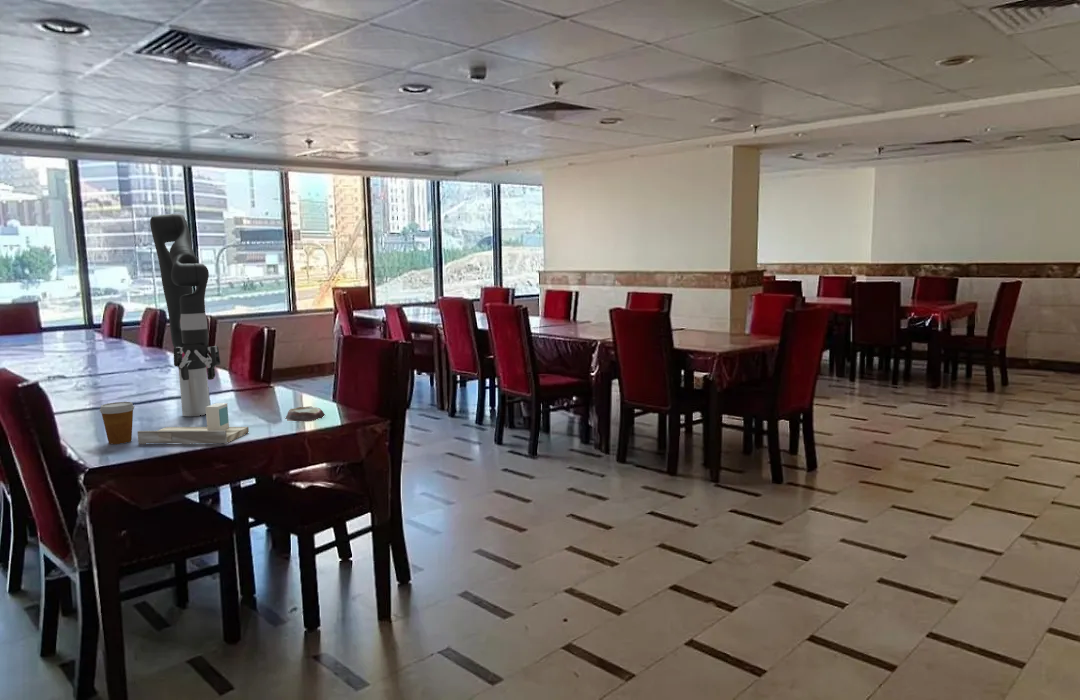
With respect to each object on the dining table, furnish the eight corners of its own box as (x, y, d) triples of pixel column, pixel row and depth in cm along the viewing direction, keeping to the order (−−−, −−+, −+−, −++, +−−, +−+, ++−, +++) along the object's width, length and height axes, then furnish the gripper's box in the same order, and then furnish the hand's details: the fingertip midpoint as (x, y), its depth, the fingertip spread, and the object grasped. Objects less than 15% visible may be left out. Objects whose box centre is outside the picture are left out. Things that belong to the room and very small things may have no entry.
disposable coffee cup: (95, 445, 229) (92, 407, 227) (114, 438, 238) (111, 401, 237) (125, 445, 228) (122, 407, 227) (143, 438, 237) (140, 401, 236)
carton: (217, 427, 241) (215, 403, 240) (229, 427, 241) (228, 403, 240) (207, 431, 235) (205, 407, 234) (220, 431, 235) (218, 406, 234)
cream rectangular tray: (166, 433, 244) (165, 421, 244) (248, 432, 242) (247, 420, 241) (137, 444, 229) (136, 431, 228) (224, 444, 226) (223, 431, 226)
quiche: (260, 423, 259) (259, 412, 259) (299, 412, 278) (298, 402, 277) (308, 427, 251) (308, 416, 251) (345, 415, 270) (345, 405, 269)
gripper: (222, 326, 234) (226, 377, 236) (181, 327, 236) (185, 378, 238) (208, 328, 227) (212, 381, 228) (165, 329, 229) (170, 381, 230)
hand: (198, 379), depth 233 cm, fingers open, 8 cm apart
